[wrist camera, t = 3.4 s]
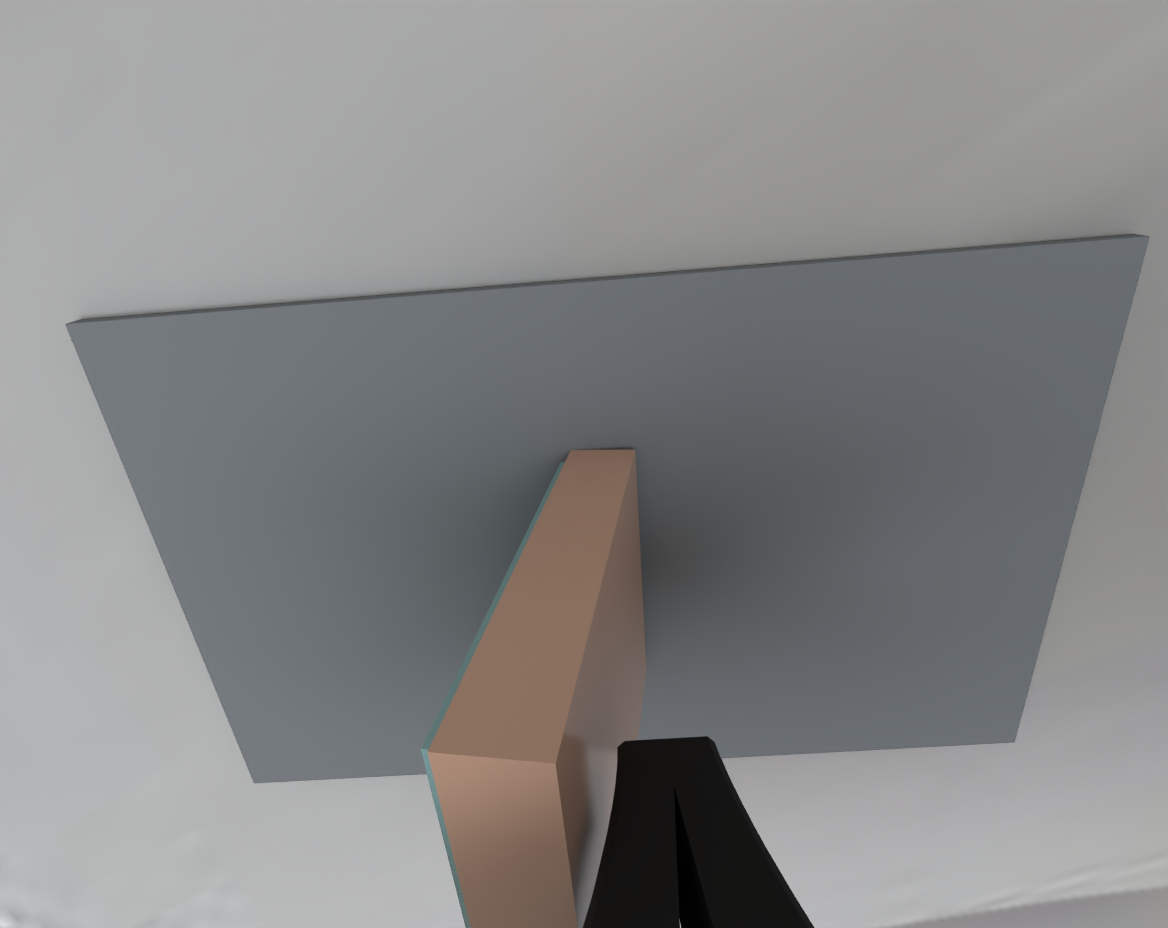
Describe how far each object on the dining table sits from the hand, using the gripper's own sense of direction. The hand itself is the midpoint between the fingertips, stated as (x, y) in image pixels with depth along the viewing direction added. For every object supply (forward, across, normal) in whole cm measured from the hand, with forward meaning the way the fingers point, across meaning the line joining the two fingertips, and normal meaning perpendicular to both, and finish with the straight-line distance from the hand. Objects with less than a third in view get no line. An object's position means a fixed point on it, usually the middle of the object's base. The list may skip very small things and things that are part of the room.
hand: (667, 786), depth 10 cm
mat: (+6, +1, 0) cm, 6 cm away
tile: (+6, +1, 0) cm, 6 cm away
